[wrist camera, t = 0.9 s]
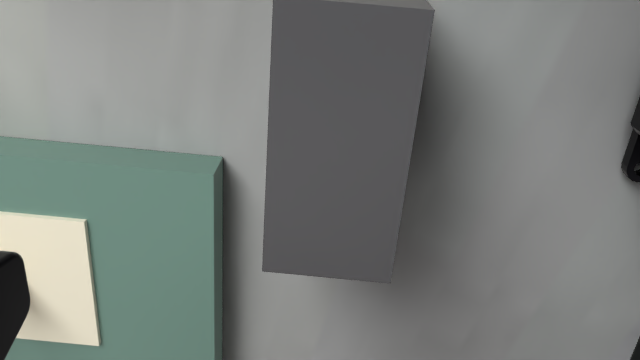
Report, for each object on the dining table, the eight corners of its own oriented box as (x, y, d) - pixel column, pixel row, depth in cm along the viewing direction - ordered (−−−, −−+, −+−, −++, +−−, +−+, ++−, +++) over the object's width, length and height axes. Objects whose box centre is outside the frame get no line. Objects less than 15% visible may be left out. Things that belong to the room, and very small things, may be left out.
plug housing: (297, -31, 17) (273, -4, 12) (408, -21, 17) (434, 10, 12) (286, 175, 20) (262, 271, 15) (380, 184, 20) (390, 283, 15)
